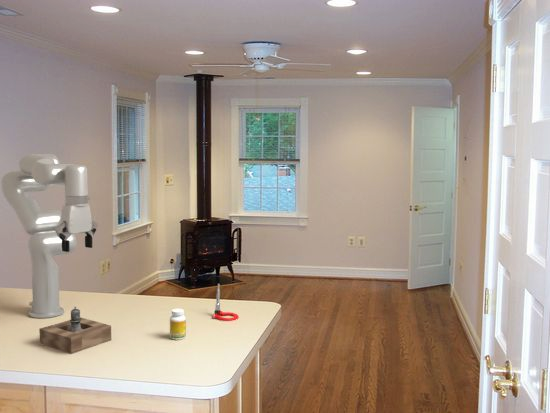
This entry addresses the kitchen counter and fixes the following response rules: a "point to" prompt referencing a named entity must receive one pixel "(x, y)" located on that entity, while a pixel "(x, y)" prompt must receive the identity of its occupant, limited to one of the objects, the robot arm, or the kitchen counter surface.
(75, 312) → the dark stone chess piece
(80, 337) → the well block
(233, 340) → the kitchen counter surface
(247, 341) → the kitchen counter surface
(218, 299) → the tow hook
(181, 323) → the supplement bottle
